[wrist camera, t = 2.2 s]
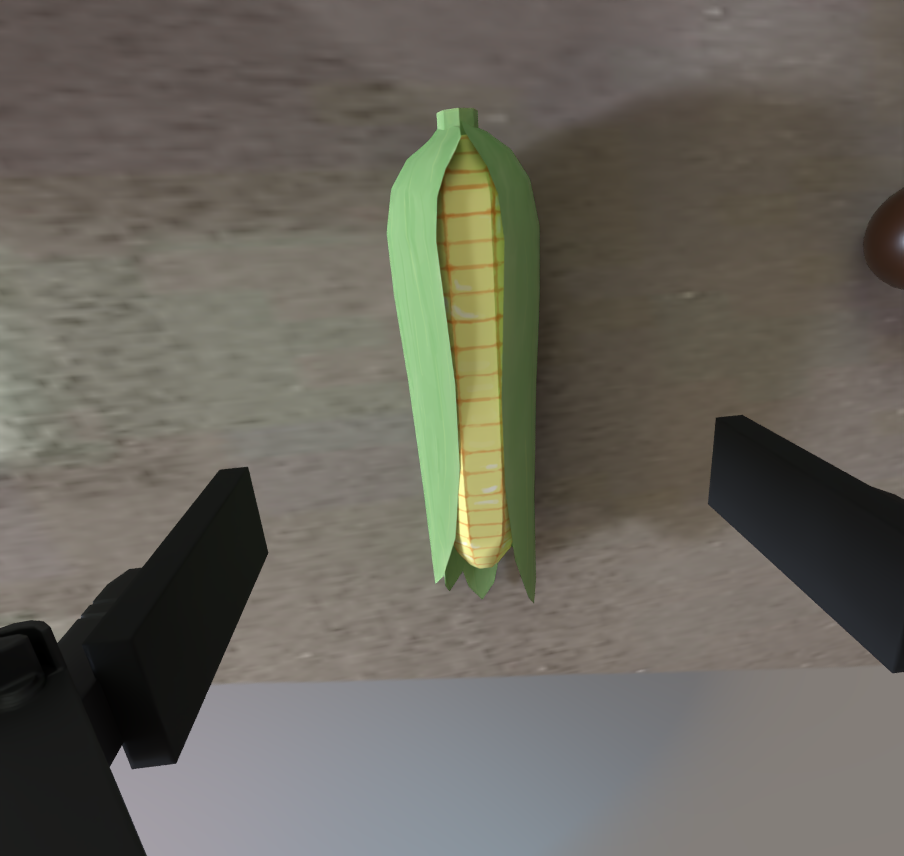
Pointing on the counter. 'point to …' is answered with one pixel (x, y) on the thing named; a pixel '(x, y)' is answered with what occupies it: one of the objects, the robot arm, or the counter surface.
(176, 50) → the counter surface
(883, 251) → the dark brown capsule
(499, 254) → the edible corn
